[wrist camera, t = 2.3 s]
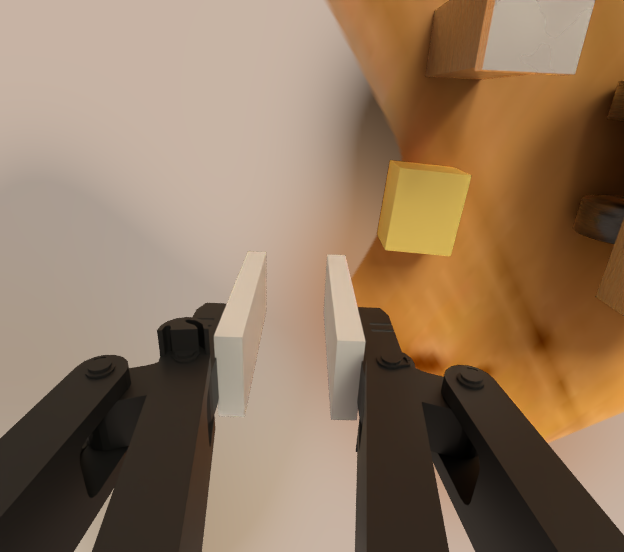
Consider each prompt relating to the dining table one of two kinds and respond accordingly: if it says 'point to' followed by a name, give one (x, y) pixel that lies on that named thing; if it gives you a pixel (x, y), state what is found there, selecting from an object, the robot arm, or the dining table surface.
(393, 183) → the block
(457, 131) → the dining table surface
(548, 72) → the grey tall block
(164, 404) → the robot arm
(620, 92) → the grey open rectangular container
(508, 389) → the dining table surface
